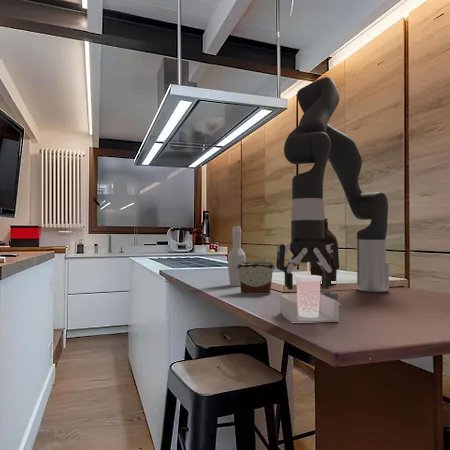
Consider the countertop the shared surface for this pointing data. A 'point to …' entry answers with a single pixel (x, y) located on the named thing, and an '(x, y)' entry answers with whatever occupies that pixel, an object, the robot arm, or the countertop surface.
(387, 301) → the countertop surface
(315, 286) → the beverage cup
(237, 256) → the faceted bottle
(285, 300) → the tray
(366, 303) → the countertop surface
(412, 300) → the countertop surface
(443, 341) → the countertop surface
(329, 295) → the clip
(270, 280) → the food container
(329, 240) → the olive oil
